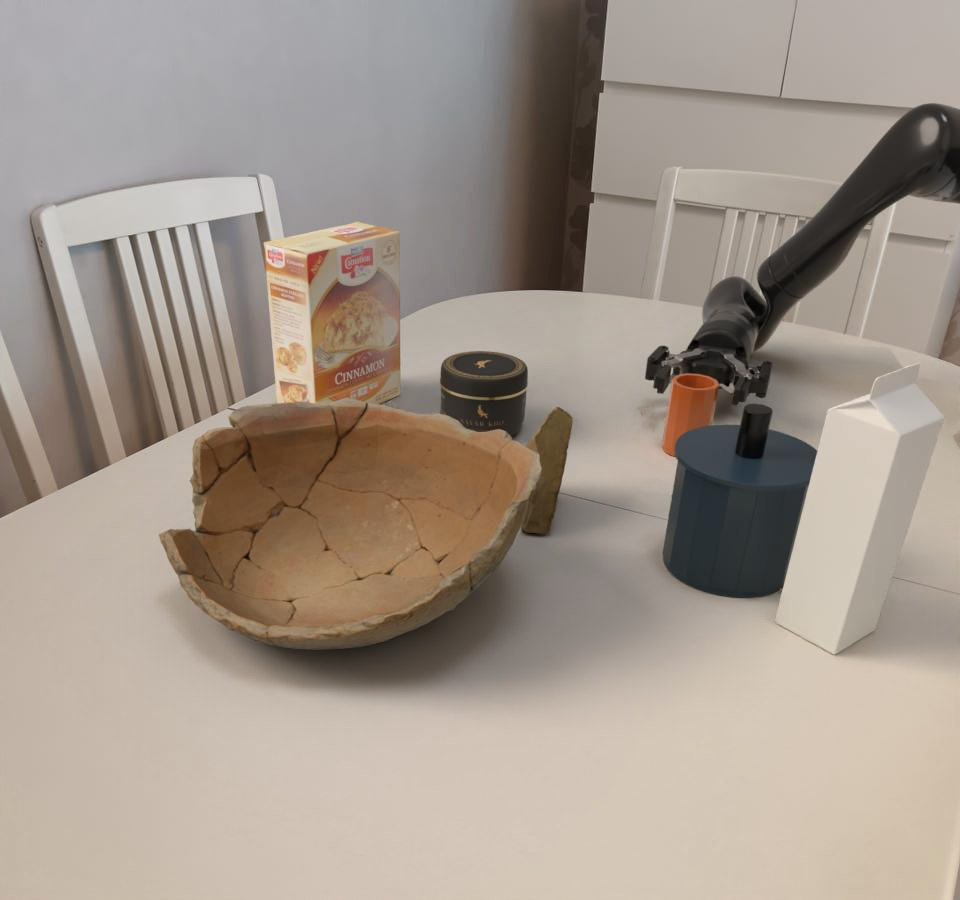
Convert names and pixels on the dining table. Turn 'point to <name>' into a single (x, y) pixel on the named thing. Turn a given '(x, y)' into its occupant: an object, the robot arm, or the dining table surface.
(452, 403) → the jar
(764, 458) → the pot lid
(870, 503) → the milk
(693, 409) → the orange pipe segment
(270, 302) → the coffeecake box
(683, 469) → the pot
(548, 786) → the dining table surface
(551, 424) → the rock
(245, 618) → the ceramic bowl
